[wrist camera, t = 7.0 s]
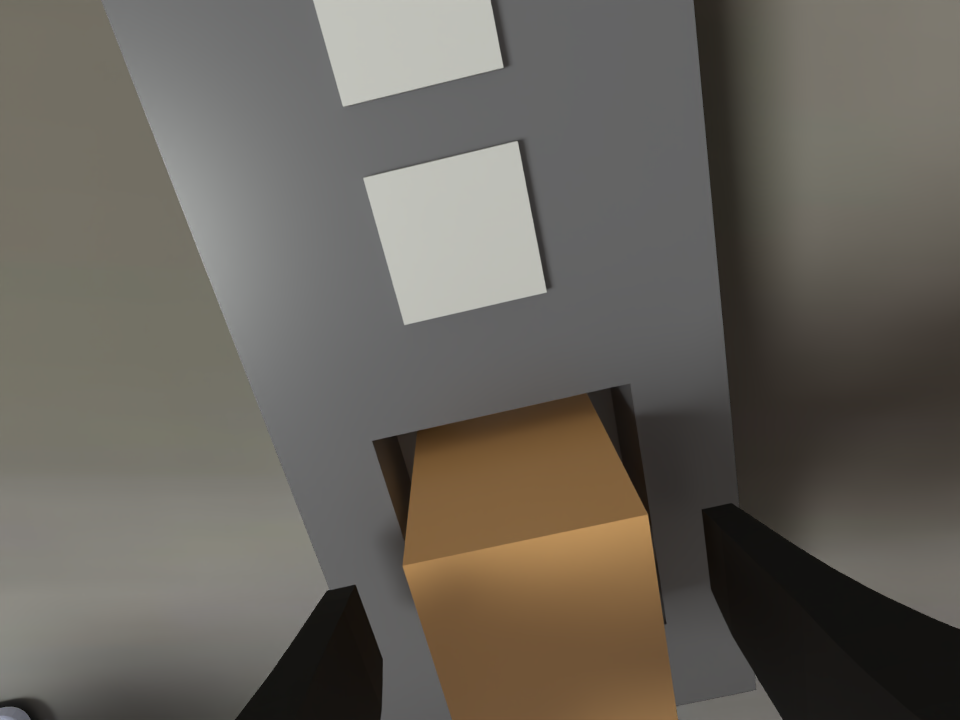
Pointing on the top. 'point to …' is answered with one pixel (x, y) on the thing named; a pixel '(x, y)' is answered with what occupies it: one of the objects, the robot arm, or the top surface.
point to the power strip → (456, 261)
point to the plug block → (536, 570)
